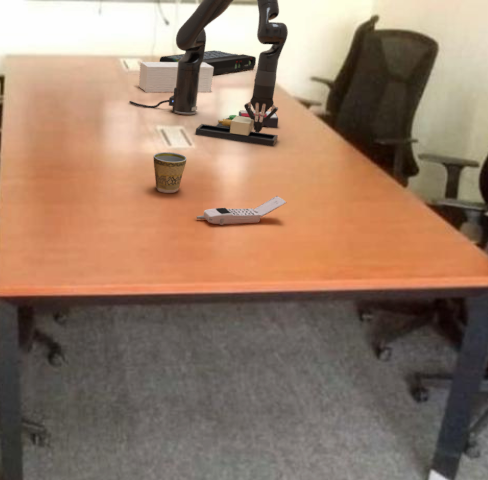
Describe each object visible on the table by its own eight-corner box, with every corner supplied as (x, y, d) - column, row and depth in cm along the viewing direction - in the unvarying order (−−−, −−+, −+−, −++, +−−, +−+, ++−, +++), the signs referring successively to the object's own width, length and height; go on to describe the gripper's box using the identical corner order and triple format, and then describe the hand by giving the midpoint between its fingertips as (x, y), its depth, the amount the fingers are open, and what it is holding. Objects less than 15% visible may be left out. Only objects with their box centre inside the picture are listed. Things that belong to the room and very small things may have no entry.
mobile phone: (288, 202, 214) (205, 205, 208) (284, 222, 218) (203, 226, 211) (278, 195, 219) (197, 198, 212) (275, 215, 222) (195, 218, 216)
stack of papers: (202, 86, 364) (205, 62, 358) (210, 91, 355) (213, 67, 349) (138, 86, 355) (140, 61, 349) (145, 92, 347) (147, 66, 341)
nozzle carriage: (214, 134, 288) (216, 118, 285) (219, 128, 295) (221, 113, 292) (247, 139, 285) (249, 123, 282) (252, 133, 292) (254, 118, 289)
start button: (227, 121, 299) (228, 116, 298) (229, 119, 303) (230, 114, 302) (238, 123, 298) (239, 118, 297) (240, 120, 302) (241, 116, 301)
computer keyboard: (214, 60, 424) (216, 47, 420) (254, 69, 408) (256, 56, 404) (159, 67, 396) (160, 53, 393) (199, 78, 380) (200, 63, 377)
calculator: (238, 109, 314) (275, 110, 313) (238, 120, 316) (274, 120, 316) (241, 115, 305) (278, 116, 304) (240, 126, 307) (277, 127, 307)
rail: (195, 134, 291) (196, 128, 290) (200, 129, 298) (201, 123, 296) (273, 146, 284) (274, 140, 282) (276, 141, 290) (277, 135, 289)
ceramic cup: (173, 197, 230) (176, 164, 224) (144, 189, 234) (147, 157, 228) (193, 186, 239) (197, 154, 233) (165, 179, 243) (168, 148, 238)
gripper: (284, 83, 279) (276, 132, 288) (249, 78, 282) (242, 126, 292) (281, 87, 273) (273, 136, 282) (245, 82, 276) (238, 131, 286)
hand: (257, 131), depth 287 cm, fingers closed
